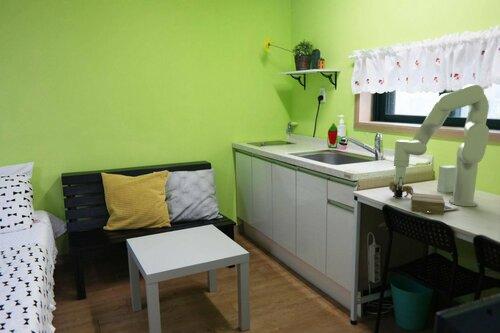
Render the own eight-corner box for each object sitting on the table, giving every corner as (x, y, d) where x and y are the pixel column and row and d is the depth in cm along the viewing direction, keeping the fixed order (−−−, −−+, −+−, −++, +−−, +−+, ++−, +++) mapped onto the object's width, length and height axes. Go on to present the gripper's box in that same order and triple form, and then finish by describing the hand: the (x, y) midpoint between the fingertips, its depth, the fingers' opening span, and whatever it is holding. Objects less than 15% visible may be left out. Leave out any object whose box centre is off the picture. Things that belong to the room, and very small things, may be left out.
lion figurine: (390, 199, 207) (391, 182, 205) (386, 196, 212) (387, 180, 210) (417, 198, 208) (418, 182, 206) (412, 195, 213) (413, 180, 211)
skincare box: (448, 189, 226) (451, 164, 223) (456, 192, 220) (459, 166, 217) (436, 190, 224) (438, 165, 221) (443, 193, 219) (446, 167, 216)
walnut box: (410, 204, 199) (412, 192, 198) (441, 207, 194) (442, 195, 193) (411, 211, 187) (412, 200, 185) (443, 215, 181) (444, 203, 180)
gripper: (393, 160, 215) (390, 191, 219) (394, 165, 199) (391, 199, 203) (407, 160, 213) (404, 192, 217) (410, 166, 197) (407, 200, 200)
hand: (398, 195), depth 209 cm, fingers open, 6 cm apart
